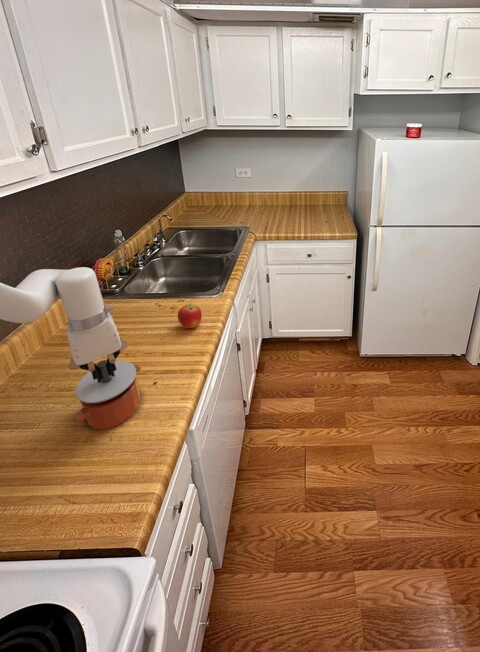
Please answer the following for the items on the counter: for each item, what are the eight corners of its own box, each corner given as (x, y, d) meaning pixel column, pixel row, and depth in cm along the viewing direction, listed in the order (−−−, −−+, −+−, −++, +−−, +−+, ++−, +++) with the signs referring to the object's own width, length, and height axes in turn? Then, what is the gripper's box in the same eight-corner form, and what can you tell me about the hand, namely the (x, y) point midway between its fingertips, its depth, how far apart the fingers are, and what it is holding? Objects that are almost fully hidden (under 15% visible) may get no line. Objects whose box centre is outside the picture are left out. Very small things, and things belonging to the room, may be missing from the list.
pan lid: (63, 395, 83) (56, 375, 81) (111, 358, 95) (106, 340, 93) (103, 412, 79) (96, 391, 76) (148, 371, 91) (143, 352, 88)
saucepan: (65, 429, 84) (57, 407, 82) (125, 377, 100) (120, 358, 97) (101, 445, 80) (94, 424, 78) (158, 389, 96) (153, 369, 93)
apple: (184, 319, 126) (180, 297, 123) (205, 319, 127) (202, 296, 123) (176, 333, 119) (172, 310, 115) (199, 332, 119) (195, 309, 116)
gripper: (122, 298, 87) (135, 354, 94) (44, 323, 77) (66, 383, 84) (128, 311, 81) (143, 369, 88) (46, 340, 72) (69, 402, 79)
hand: (105, 375), depth 86 cm, fingers closed on pan lid, 2 cm apart
